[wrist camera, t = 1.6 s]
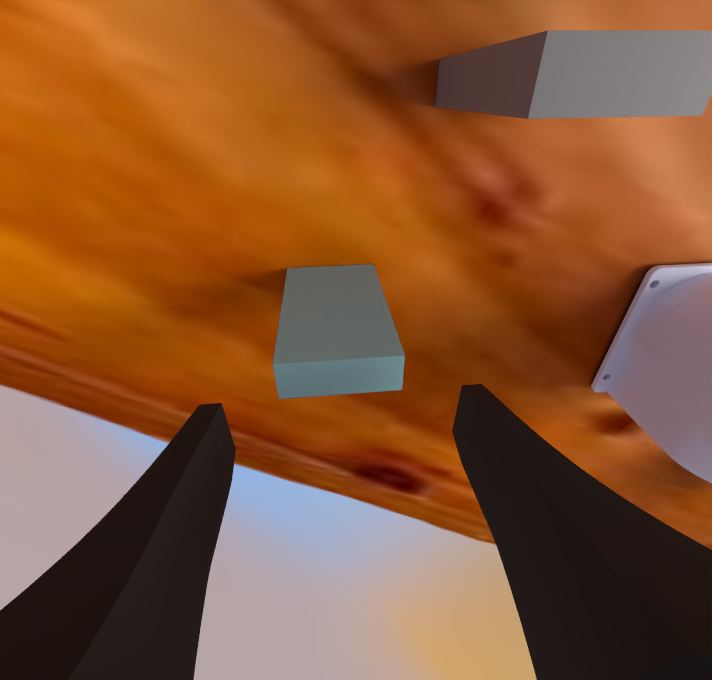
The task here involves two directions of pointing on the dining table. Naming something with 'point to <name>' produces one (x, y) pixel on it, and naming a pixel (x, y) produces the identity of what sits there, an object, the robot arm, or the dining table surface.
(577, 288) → the dining table surface
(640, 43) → the domino
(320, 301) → the teal domino
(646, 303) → the robot arm
